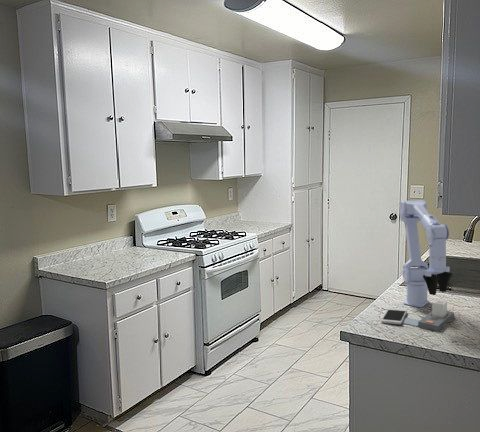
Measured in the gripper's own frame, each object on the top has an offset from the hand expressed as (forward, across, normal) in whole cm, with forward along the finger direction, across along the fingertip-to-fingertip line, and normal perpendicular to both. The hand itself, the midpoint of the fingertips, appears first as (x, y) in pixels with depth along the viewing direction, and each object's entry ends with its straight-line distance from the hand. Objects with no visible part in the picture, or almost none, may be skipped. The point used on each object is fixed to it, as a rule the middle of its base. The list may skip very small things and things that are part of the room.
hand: (437, 293), depth 168 cm
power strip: (+11, 0, +1) cm, 11 cm away
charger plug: (+11, +3, +1) cm, 11 cm away
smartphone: (+11, -8, +14) cm, 19 cm away
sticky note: (+11, -7, +6) cm, 15 cm away
